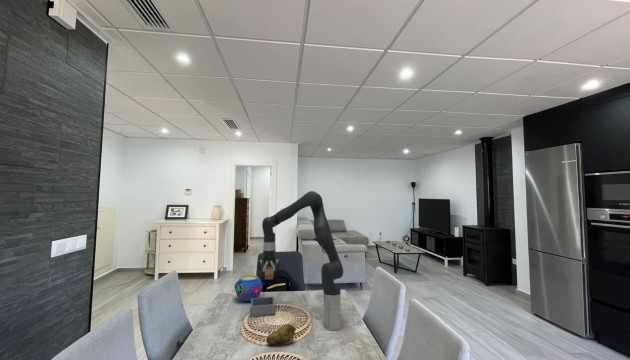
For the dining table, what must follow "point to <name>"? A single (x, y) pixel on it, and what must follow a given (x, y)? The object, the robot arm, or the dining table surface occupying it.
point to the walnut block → (269, 273)
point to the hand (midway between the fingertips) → (268, 276)
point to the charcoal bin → (262, 306)
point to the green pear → (281, 334)
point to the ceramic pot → (248, 287)
